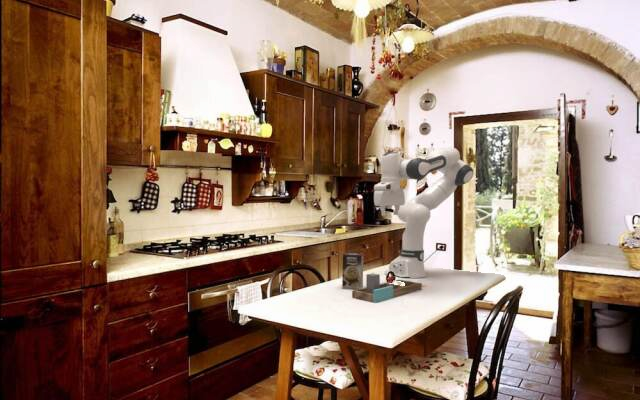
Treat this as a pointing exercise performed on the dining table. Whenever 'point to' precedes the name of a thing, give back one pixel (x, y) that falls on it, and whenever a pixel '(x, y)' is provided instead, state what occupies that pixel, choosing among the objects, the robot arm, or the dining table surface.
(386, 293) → the rack
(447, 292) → the dining table surface
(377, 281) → the tall grey block
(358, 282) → the coffee box
